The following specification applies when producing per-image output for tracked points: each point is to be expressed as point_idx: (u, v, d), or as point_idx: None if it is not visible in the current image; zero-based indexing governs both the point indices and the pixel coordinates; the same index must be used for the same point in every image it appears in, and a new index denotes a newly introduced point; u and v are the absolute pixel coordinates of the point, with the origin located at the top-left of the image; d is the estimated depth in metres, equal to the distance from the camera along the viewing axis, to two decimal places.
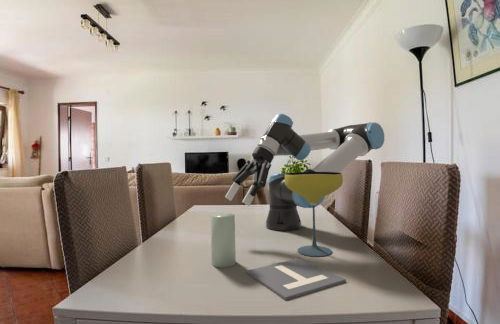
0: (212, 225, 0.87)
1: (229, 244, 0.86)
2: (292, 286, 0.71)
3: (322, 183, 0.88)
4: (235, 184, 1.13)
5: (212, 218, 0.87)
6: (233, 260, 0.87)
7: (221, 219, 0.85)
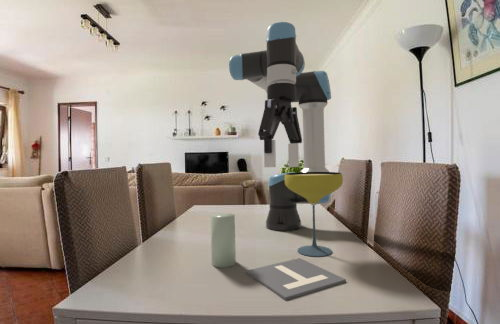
0: (212, 225, 0.87)
1: (229, 244, 0.86)
2: (292, 286, 0.71)
3: (322, 183, 0.88)
4: None
5: (212, 218, 0.87)
6: (233, 260, 0.87)
7: (221, 219, 0.85)
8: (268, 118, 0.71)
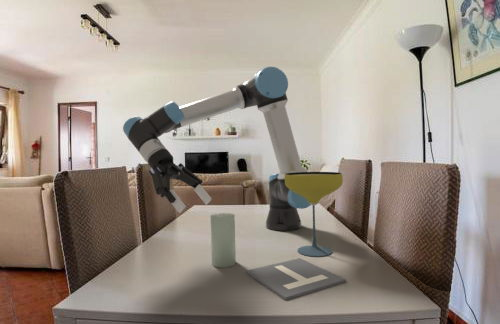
0: (212, 225, 0.87)
1: (229, 244, 0.86)
2: (292, 286, 0.71)
3: (322, 183, 0.88)
4: None
5: (212, 218, 0.87)
6: (233, 260, 0.87)
7: (221, 219, 0.85)
8: (156, 179, 0.88)
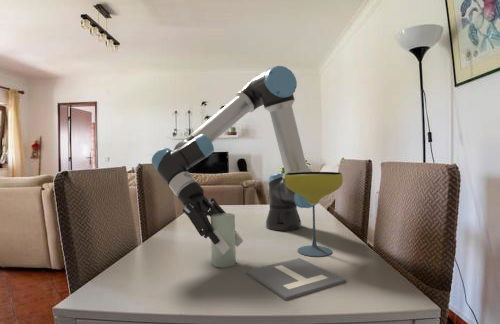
0: (212, 225, 0.87)
1: (229, 244, 0.86)
2: (292, 286, 0.71)
3: (322, 183, 0.88)
4: None
5: (212, 218, 0.87)
6: (233, 260, 0.87)
7: (221, 219, 0.85)
8: (196, 220, 0.85)
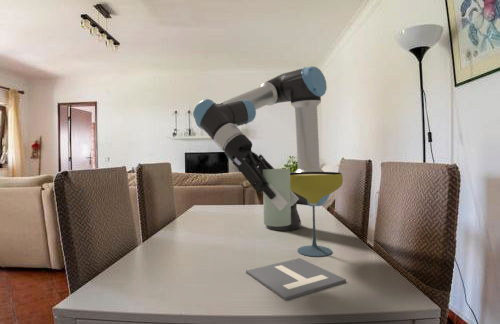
0: (266, 179, 0.77)
1: None
2: (292, 286, 0.71)
3: (322, 183, 0.88)
4: None
5: (266, 171, 0.76)
6: (289, 219, 0.77)
7: (277, 171, 0.75)
8: (249, 172, 0.75)
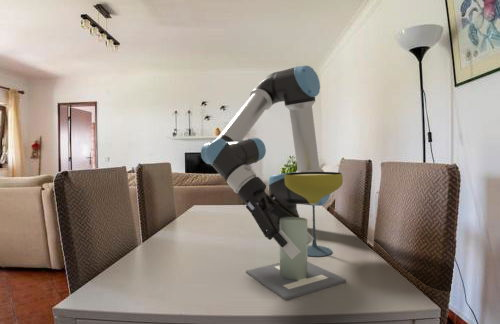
0: (283, 230, 0.75)
1: (303, 253, 0.75)
2: (292, 286, 0.71)
3: (322, 183, 0.88)
4: None
5: (283, 222, 0.75)
6: (306, 271, 0.76)
7: (295, 224, 0.74)
8: (261, 218, 0.73)
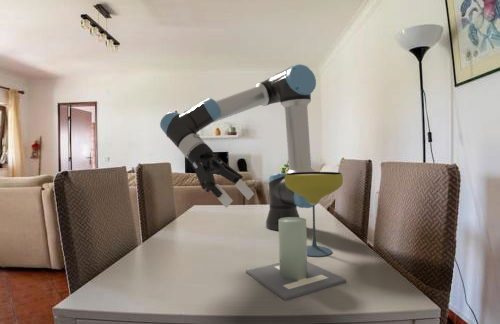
0: (282, 231, 0.75)
1: (302, 253, 0.75)
2: (292, 286, 0.71)
3: (322, 183, 0.88)
4: None
5: (282, 223, 0.75)
6: (306, 271, 0.76)
7: (294, 224, 0.74)
8: (201, 173, 0.85)
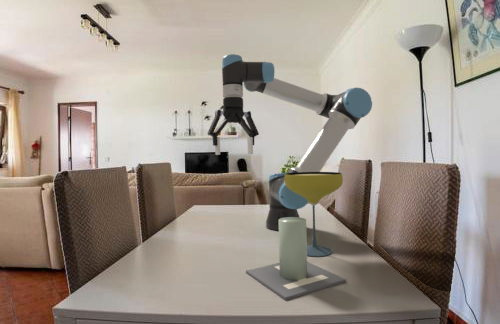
0: (282, 231, 0.75)
1: (302, 253, 0.75)
2: (292, 286, 0.71)
3: (322, 183, 0.88)
4: None
5: (282, 223, 0.75)
6: (306, 271, 0.76)
7: (294, 224, 0.74)
8: (213, 123, 1.10)
